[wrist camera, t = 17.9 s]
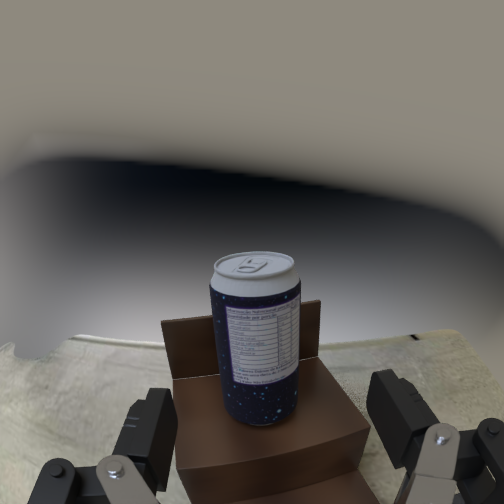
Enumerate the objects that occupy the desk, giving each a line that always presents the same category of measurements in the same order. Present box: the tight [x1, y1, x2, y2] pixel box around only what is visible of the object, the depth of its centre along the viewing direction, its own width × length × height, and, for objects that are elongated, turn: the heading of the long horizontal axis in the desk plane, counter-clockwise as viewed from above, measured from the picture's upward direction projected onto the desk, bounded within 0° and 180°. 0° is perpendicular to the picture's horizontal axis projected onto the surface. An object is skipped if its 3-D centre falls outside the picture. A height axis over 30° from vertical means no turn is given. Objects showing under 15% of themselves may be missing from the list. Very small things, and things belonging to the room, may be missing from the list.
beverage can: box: [209, 252, 301, 426], centre depth 20 cm, size 6×6×12 cm
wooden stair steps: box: [161, 300, 380, 504], centre depth 19 cm, size 14×19×16 cm
